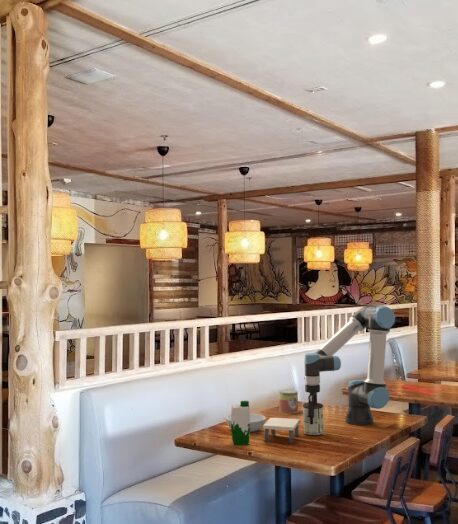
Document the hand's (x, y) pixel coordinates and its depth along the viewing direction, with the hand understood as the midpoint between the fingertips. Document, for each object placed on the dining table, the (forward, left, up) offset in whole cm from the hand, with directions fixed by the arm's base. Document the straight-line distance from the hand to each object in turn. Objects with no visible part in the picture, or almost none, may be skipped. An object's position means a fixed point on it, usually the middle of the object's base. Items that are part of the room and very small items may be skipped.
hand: (313, 427), depth 310 cm
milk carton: (+31, +27, -3) cm, 42 cm away
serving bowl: (+35, +1, -3) cm, 35 cm away
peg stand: (+14, +13, -3) cm, 19 cm away
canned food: (+22, -51, -3) cm, 56 cm away
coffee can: (0, 0, -3) cm, 3 cm away
